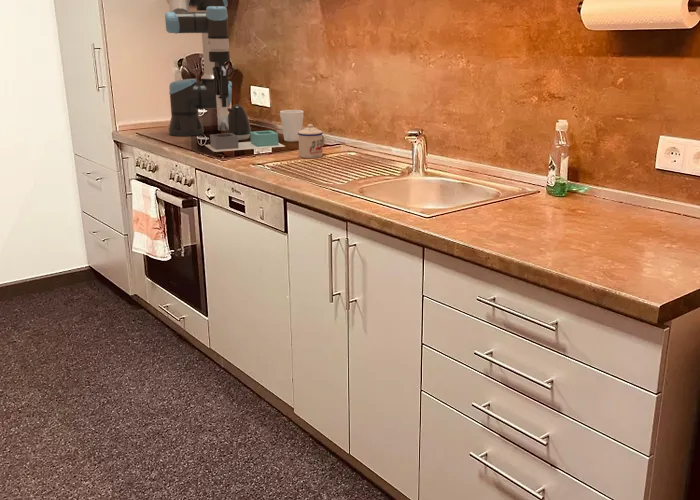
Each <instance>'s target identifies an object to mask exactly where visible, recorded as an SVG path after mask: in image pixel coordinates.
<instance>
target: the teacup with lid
mask: <svg viewBox="0 0 700 500" xmlns="http://www.w3.org/2000/svg"><path fill="white" fill-rule="evenodd" d="M323 134H324V133H323V131H322V130H320V129H318V128H317V127H314V125H313V124H310V123H309V124H307V127H304V128H302V130H300V131H299V132H298V135H299V141H298V156H299V157H300V158H304V159H318V158H321V157H322V156H323V146H324V144H325V136H324V135H323Z"/></svg>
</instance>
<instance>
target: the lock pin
mask: <svg viewBox="0 0 700 500" xmlns="http://www.w3.org/2000/svg"><path fill="white" fill-rule="evenodd" d="M218 97H220V95H216V102H217V109H216V117H217V118H216V119H217V130H218V131H225V132H226V130H229V124H228V116H220V99H219V98H218Z"/></svg>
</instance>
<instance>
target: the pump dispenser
mask: <svg viewBox="0 0 700 500" xmlns="http://www.w3.org/2000/svg"><path fill="white" fill-rule="evenodd" d="M228 124H229V130H226V131H225V134H226V133H233V134H235V135H236V136H238V141H244V140H248V139H250V138H251V136H250V132H252V131H251V130H252V129H251V124H250V120H249V117H248V115H247V113H246V110H245V109H244V107H243V106H242V105H240V104H234V105H232V107H228Z"/></svg>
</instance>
